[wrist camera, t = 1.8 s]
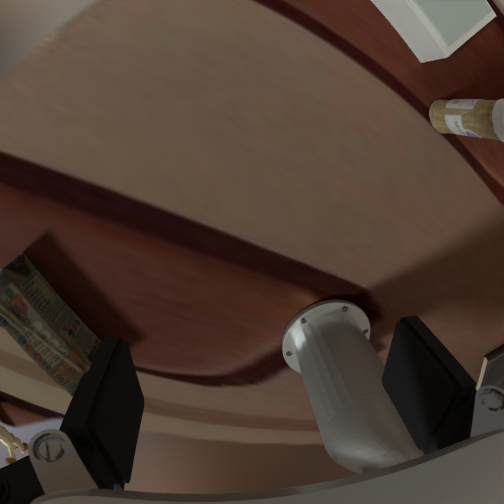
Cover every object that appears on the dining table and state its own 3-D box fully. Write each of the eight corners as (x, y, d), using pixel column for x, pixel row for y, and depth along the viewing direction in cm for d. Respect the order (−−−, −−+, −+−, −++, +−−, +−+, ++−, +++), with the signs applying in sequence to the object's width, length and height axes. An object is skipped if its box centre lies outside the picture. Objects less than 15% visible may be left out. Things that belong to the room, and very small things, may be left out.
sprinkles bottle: (427, 131, 34) (504, 142, 22) (427, 96, 32) (503, 94, 20) (453, 135, 34) (529, 147, 22) (453, 101, 33) (528, 104, 20)
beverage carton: (24, 247, 35) (-2, 267, 28) (117, 350, 41) (106, 382, 35) (-1, 278, 36) (-25, 300, 30) (85, 371, 42) (72, 401, 36)
